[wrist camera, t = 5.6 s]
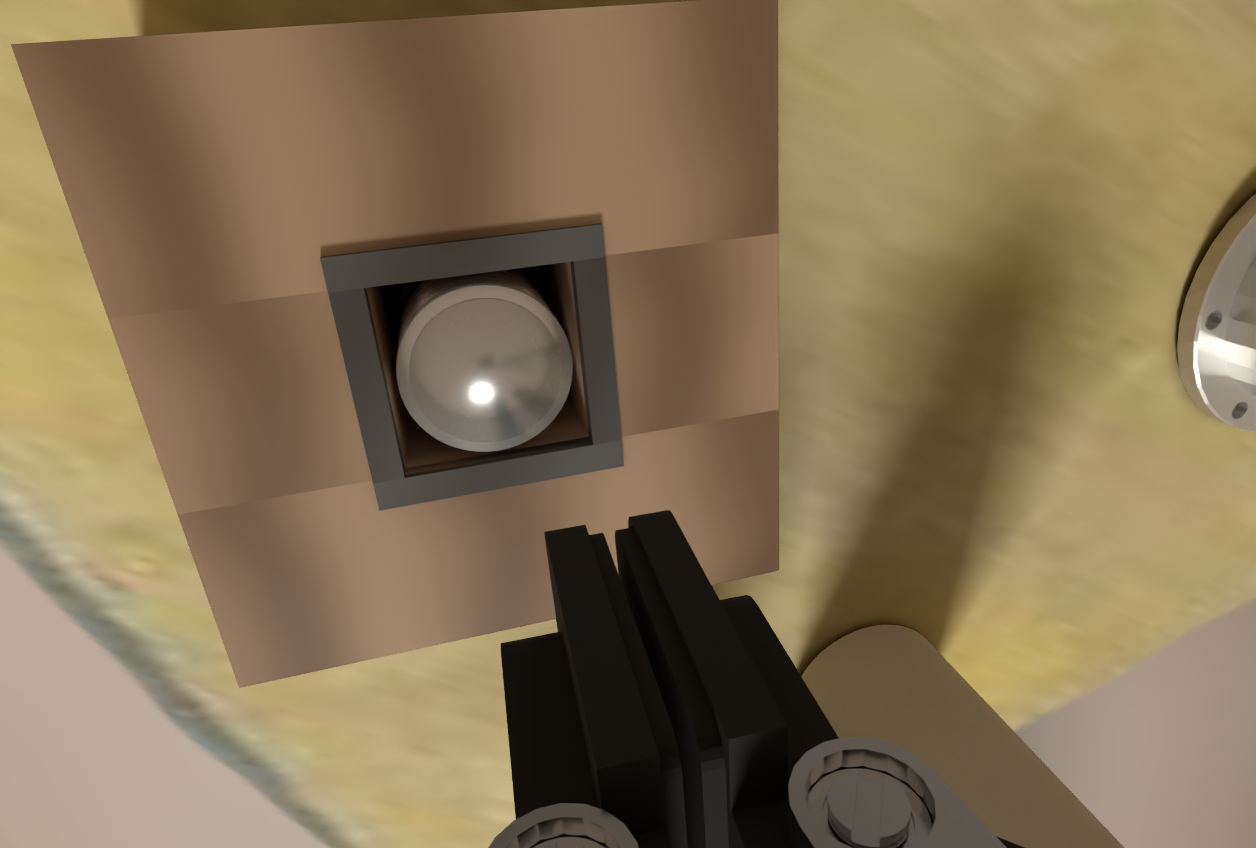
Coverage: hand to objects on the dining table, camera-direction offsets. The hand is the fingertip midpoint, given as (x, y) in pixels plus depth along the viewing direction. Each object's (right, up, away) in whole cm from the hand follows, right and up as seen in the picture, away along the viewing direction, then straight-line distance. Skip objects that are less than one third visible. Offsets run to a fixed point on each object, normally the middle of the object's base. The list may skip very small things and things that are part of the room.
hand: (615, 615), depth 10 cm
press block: (-5, +7, +17) cm, 19 cm away
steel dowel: (-5, +7, +17) cm, 19 cm away
